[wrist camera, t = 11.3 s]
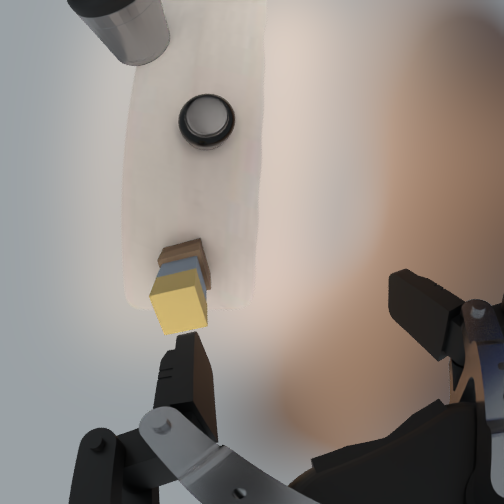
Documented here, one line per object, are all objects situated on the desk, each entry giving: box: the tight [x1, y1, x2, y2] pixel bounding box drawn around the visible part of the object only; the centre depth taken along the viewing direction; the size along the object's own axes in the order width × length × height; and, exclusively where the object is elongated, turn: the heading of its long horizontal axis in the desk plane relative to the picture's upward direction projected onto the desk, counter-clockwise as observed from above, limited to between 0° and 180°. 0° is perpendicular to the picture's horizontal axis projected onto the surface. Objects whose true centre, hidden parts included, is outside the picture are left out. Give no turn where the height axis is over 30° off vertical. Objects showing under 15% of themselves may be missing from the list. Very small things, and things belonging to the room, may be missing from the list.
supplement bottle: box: [178, 94, 235, 150], centre depth 32 cm, size 7×7×12 cm
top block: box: [149, 268, 208, 335], centre depth 31 cm, size 5×5×5 cm
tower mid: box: [156, 256, 206, 299], centre depth 35 cm, size 5×5×5 cm
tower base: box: [157, 239, 211, 290], centre depth 40 cm, size 6×6×6 cm
